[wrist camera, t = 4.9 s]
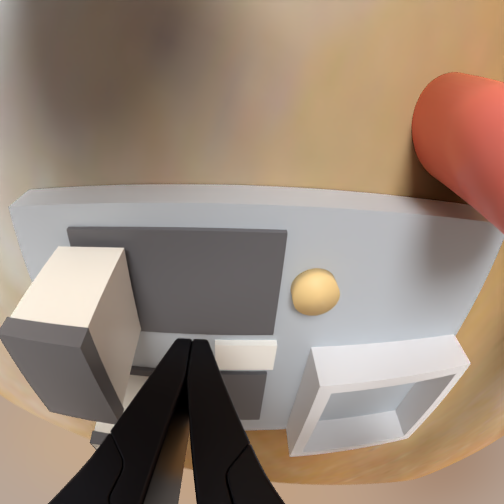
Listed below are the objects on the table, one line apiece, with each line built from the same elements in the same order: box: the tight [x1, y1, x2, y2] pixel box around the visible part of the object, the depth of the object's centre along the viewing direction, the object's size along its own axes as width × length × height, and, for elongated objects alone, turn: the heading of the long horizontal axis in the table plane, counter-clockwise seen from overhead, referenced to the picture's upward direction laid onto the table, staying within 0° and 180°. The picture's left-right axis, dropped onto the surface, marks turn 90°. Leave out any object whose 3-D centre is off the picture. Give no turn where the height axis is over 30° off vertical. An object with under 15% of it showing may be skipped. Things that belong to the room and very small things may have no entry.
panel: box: [9, 184, 504, 457], centre depth 12 cm, size 19×14×6 cm
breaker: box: [0, 246, 141, 425], centre depth 8 cm, size 2×4×4 cm
